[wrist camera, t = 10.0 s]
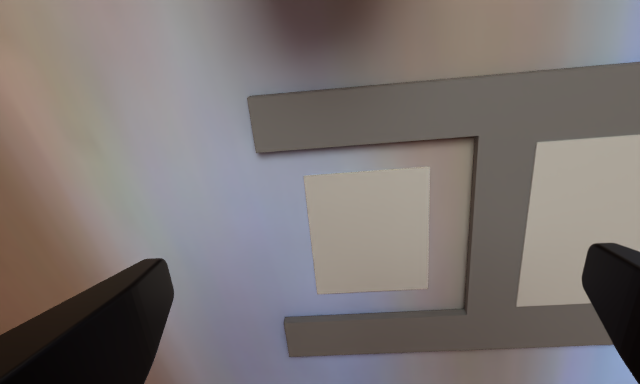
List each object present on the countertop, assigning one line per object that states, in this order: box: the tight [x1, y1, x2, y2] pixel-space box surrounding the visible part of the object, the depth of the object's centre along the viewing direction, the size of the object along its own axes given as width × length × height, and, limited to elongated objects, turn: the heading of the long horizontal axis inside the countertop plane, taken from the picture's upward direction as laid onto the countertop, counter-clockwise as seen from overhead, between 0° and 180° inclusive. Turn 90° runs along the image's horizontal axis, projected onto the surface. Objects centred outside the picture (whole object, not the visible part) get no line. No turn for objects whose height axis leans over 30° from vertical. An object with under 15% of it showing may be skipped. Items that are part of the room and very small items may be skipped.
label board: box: [247, 62, 640, 357], centre depth 20 cm, size 22×15×1 cm
